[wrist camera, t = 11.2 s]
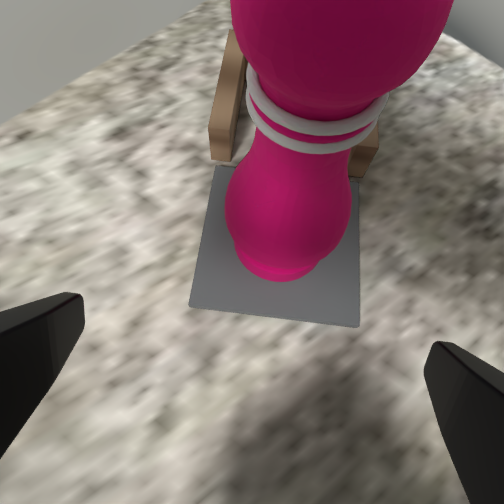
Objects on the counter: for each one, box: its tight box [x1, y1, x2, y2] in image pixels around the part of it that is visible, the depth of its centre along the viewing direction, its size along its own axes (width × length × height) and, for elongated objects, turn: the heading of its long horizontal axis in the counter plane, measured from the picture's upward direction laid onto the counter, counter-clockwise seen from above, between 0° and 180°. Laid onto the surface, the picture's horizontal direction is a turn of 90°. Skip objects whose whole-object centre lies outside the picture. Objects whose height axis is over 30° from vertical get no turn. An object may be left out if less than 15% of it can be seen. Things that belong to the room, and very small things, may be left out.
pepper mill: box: [224, 0, 454, 282], centre depth 15 cm, size 7×7×20 cm
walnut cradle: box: [208, 29, 379, 177], centre depth 28 cm, size 10×12×4 cm
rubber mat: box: [188, 166, 360, 328], centre depth 25 cm, size 11×11×1 cm
